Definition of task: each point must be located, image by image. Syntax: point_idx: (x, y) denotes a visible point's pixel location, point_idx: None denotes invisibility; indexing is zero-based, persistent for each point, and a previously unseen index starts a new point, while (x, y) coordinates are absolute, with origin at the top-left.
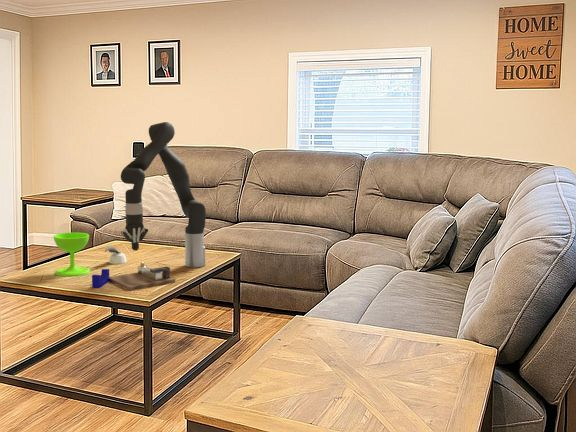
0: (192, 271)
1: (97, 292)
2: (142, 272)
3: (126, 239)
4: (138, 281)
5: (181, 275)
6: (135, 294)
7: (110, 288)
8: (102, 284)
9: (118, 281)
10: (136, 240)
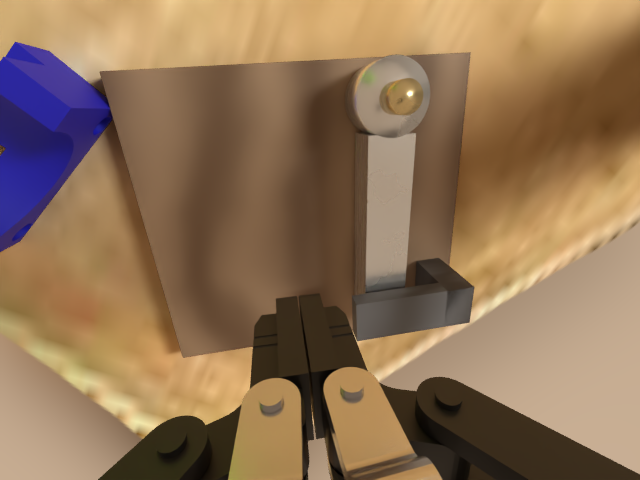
0: (630, 158)
1: (4, 310)
2: (358, 147)
3: (109, 471)
4: (267, 278)
5: (537, 206)
6: (194, 402)
7: (95, 269)
8: (44, 202)
9: (154, 225)
10: (329, 472)
